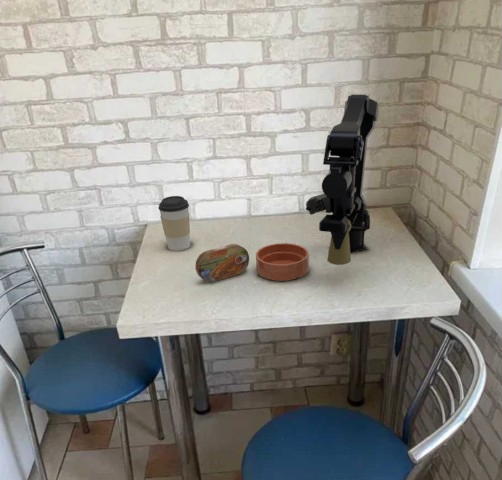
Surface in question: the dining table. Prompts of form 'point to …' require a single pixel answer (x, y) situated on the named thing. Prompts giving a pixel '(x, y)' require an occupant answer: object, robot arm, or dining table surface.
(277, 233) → the dining table surface
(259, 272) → the bowl
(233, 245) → the tin
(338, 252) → the cork
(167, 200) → the coffee cup
